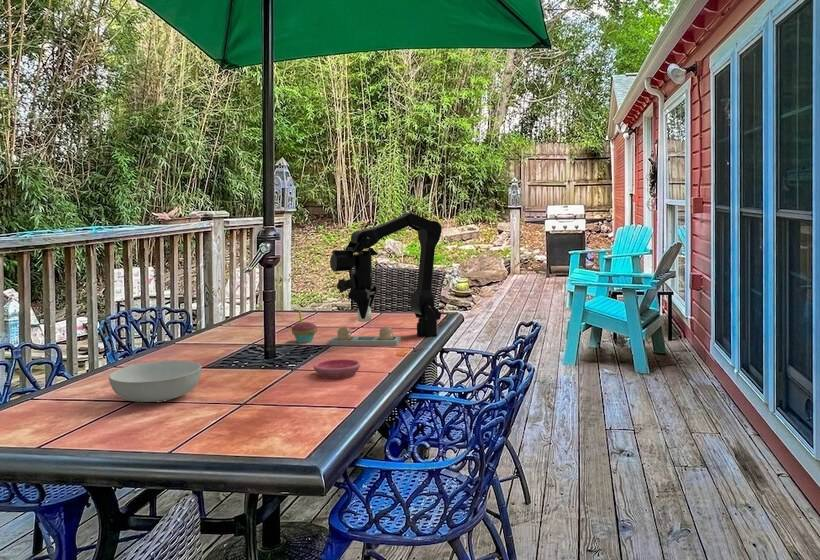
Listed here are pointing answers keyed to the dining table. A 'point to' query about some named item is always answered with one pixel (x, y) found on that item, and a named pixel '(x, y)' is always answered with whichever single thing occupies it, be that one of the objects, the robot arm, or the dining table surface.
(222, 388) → the dining table surface
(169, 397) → the serving bowl
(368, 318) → the white egg
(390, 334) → the brown egg
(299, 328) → the cupcake
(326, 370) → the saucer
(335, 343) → the egg carton
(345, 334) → the brown egg
